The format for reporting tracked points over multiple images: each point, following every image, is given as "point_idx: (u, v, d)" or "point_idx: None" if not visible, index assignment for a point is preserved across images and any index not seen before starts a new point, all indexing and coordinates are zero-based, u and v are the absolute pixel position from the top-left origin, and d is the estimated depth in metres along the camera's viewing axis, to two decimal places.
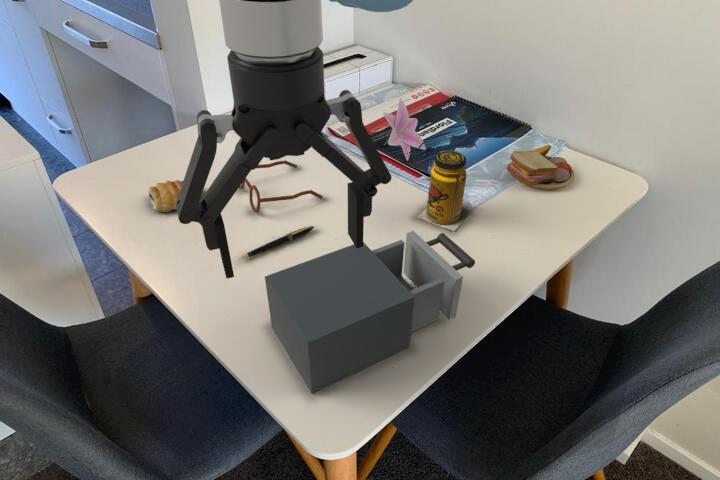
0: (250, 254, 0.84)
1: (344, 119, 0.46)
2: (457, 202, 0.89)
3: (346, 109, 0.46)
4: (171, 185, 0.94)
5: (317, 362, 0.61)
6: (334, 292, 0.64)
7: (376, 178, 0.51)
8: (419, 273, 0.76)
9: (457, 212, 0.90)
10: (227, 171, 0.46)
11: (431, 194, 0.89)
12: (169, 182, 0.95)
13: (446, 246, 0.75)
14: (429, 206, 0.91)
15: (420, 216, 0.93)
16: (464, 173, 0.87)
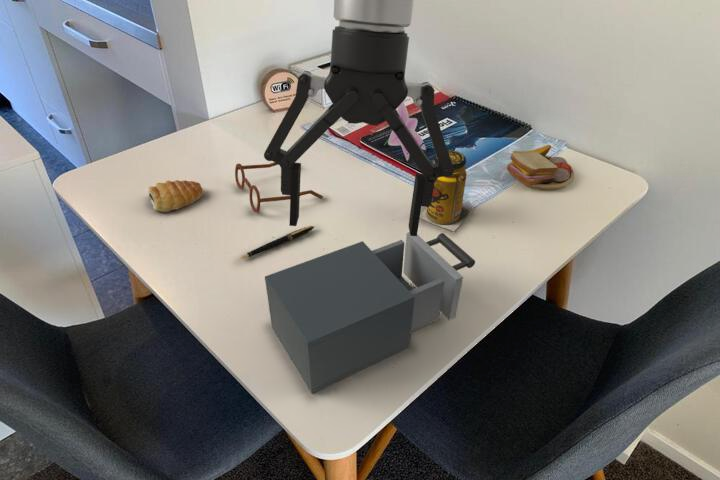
0: (250, 254, 0.84)
1: (417, 101, 0.53)
2: (457, 202, 0.89)
3: (421, 94, 0.53)
4: (171, 185, 0.94)
5: (317, 362, 0.61)
6: (334, 292, 0.64)
7: (440, 169, 0.56)
8: (419, 273, 0.76)
9: (457, 212, 0.90)
10: (312, 126, 0.55)
11: None
12: (169, 182, 0.95)
13: (446, 246, 0.75)
14: (429, 206, 0.91)
15: (420, 216, 0.93)
16: (464, 173, 0.87)
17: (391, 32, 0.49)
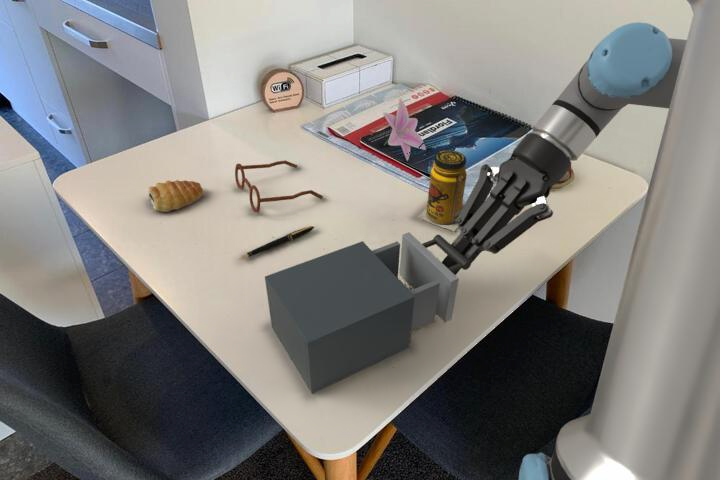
0: (250, 254, 0.84)
1: (533, 203, 0.70)
2: (457, 202, 0.89)
3: (540, 205, 0.69)
4: (171, 185, 0.94)
5: (317, 362, 0.61)
6: (334, 292, 0.64)
7: (485, 242, 0.73)
8: (415, 275, 0.76)
9: (457, 212, 0.90)
10: None
11: (431, 194, 0.89)
12: (169, 182, 0.95)
13: (442, 248, 0.74)
14: (429, 206, 0.91)
15: (420, 216, 0.93)
16: (464, 173, 0.87)
17: (554, 145, 0.69)
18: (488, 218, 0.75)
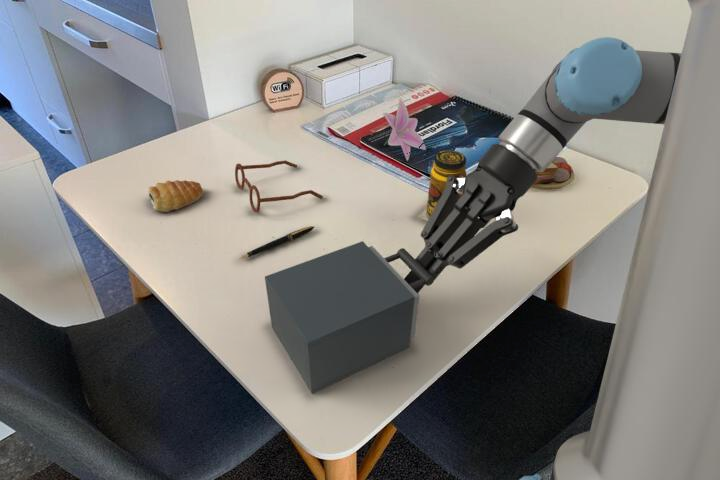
0: (250, 254, 0.84)
1: (498, 216, 0.67)
2: None
3: (504, 219, 0.67)
4: (171, 185, 0.94)
5: (317, 362, 0.61)
6: (334, 292, 0.64)
7: None
8: None
9: None
10: None
11: (431, 194, 0.89)
12: (169, 182, 0.95)
13: (406, 263, 0.72)
14: (429, 206, 0.91)
15: (420, 216, 0.93)
16: (464, 173, 0.87)
17: (519, 156, 0.67)
18: (453, 231, 0.73)
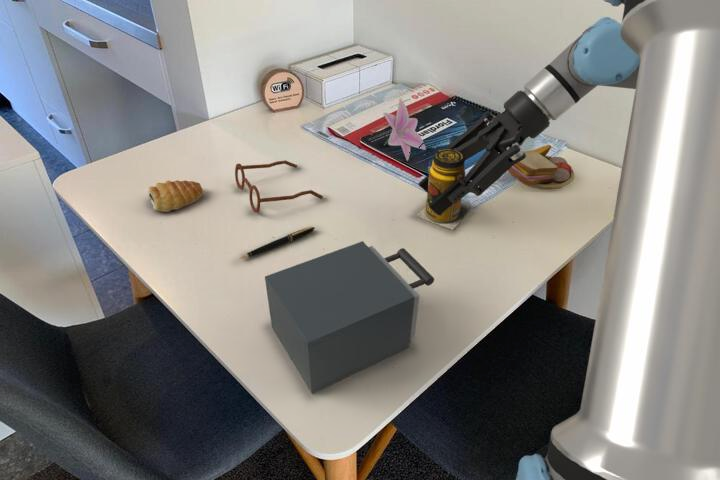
0: (250, 254, 0.84)
1: (508, 146, 0.81)
2: None
3: None
4: (171, 185, 0.94)
5: (317, 362, 0.61)
6: (334, 292, 0.64)
7: None
8: None
9: (456, 211, 0.91)
10: None
11: (429, 193, 0.90)
12: (169, 182, 0.95)
13: (406, 263, 0.72)
14: (428, 204, 0.91)
15: (419, 214, 0.93)
16: (463, 172, 0.87)
17: (532, 101, 0.81)
18: (471, 153, 0.90)
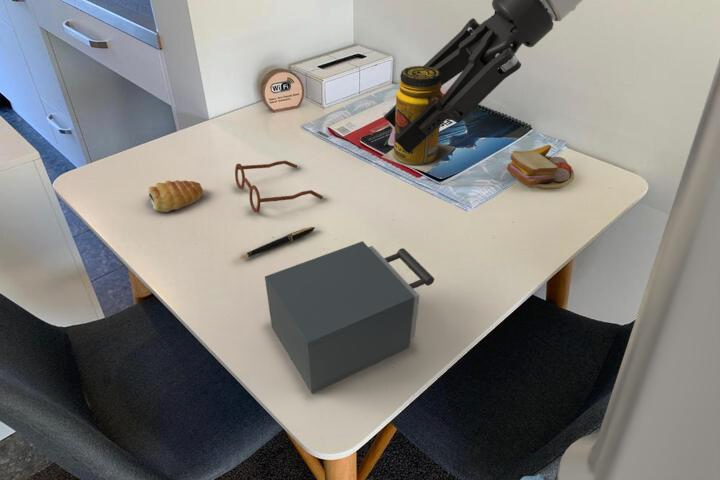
0: (250, 254, 0.84)
1: (497, 53, 0.61)
2: (431, 134, 0.69)
3: None
4: (171, 185, 0.94)
5: (317, 362, 0.61)
6: (334, 292, 0.64)
7: None
8: None
9: (432, 149, 0.70)
10: None
11: (397, 125, 0.69)
12: (169, 182, 0.95)
13: (406, 263, 0.72)
14: None
15: (385, 156, 0.73)
16: (439, 94, 0.67)
17: None
18: (450, 73, 0.70)
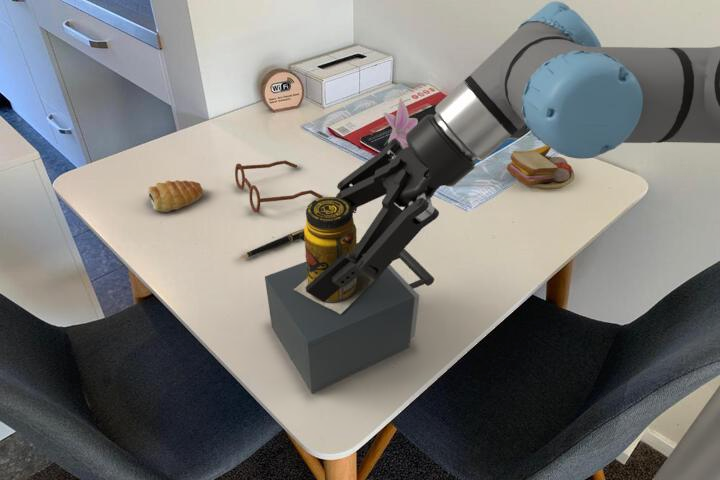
0: (250, 254, 0.84)
1: (410, 201, 0.53)
2: None
3: None
4: (171, 185, 0.94)
5: (317, 362, 0.61)
6: None
7: None
8: None
9: (347, 286, 0.62)
10: None
11: (307, 260, 0.61)
12: (169, 182, 0.95)
13: (406, 263, 0.72)
14: (308, 275, 0.63)
15: (299, 288, 0.65)
16: (351, 232, 0.59)
17: (444, 132, 0.52)
18: (368, 197, 0.62)
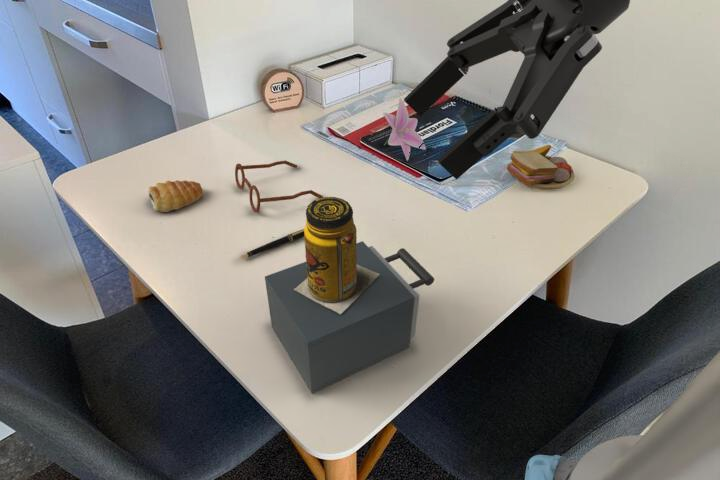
0: (250, 254, 0.84)
1: (566, 36, 0.44)
2: (344, 273, 0.60)
3: None
4: (171, 185, 0.94)
5: (317, 362, 0.61)
6: None
7: None
8: None
9: (347, 286, 0.62)
10: None
11: (307, 260, 0.61)
12: (169, 182, 0.95)
13: (406, 263, 0.72)
14: (308, 276, 0.63)
15: (299, 288, 0.65)
16: (351, 232, 0.59)
17: None
18: (485, 54, 0.55)
